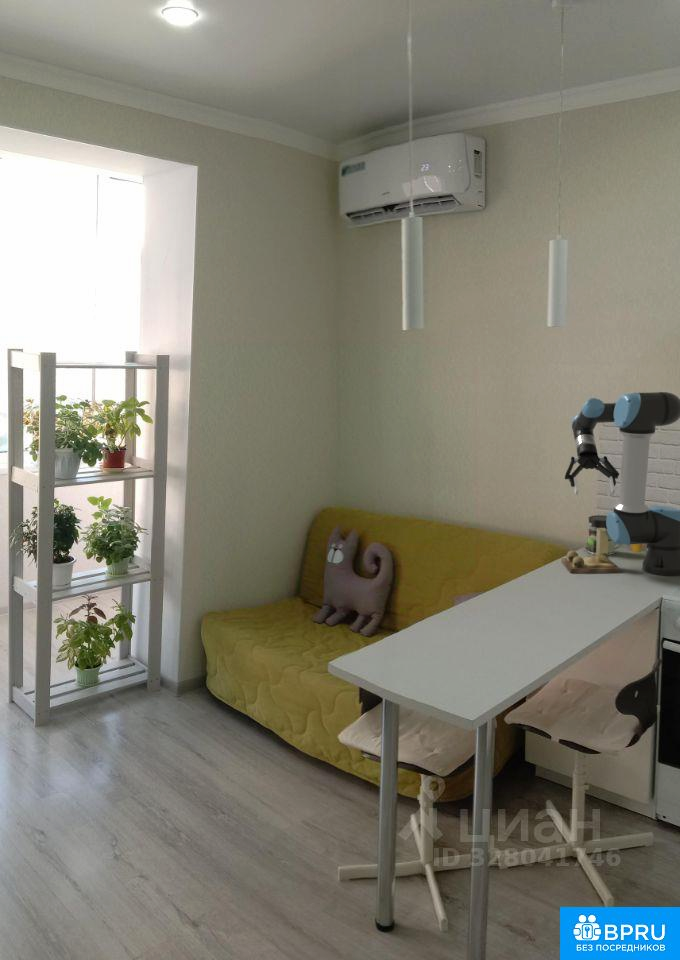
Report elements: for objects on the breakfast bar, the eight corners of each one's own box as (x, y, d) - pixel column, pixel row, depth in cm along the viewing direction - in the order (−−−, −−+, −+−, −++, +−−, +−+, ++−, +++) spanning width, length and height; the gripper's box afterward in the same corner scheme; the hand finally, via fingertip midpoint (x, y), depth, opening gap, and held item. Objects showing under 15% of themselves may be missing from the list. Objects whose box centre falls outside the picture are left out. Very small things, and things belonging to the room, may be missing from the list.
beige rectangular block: (605, 559, 303) (606, 527, 301) (608, 562, 298) (609, 530, 297) (594, 559, 303) (595, 527, 302) (597, 562, 299) (598, 530, 297)
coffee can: (594, 556, 318) (594, 520, 316) (583, 550, 328) (584, 515, 326) (619, 554, 319) (620, 519, 317) (608, 549, 329) (608, 514, 327)
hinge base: (608, 561, 309) (608, 548, 308) (619, 572, 293) (620, 558, 292) (561, 562, 310) (561, 549, 309) (570, 573, 294) (570, 559, 293)
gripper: (616, 453, 323) (626, 497, 311) (552, 455, 325) (560, 498, 312) (620, 442, 317) (630, 486, 305) (555, 443, 319) (563, 487, 306)
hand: (595, 492), depth 308 cm, fingers open, 13 cm apart
